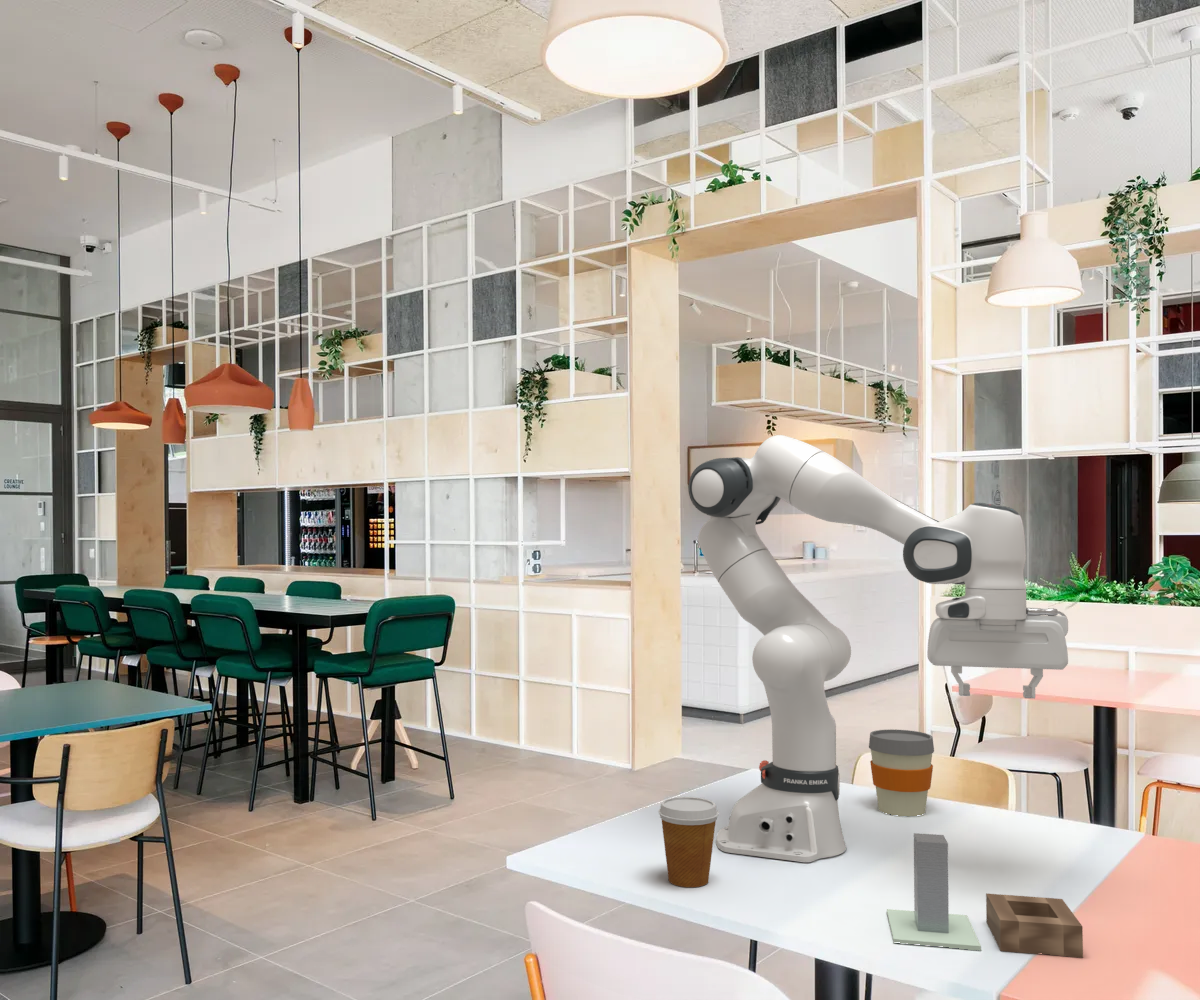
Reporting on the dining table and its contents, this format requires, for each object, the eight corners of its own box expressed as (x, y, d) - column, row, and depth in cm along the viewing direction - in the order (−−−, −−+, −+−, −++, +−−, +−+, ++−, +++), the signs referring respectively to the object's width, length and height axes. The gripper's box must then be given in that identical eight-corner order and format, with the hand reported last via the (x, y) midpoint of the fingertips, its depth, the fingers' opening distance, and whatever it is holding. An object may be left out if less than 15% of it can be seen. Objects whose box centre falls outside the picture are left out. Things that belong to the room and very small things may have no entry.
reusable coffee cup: (944, 810, 197) (944, 734, 197) (918, 823, 187) (918, 744, 188) (885, 799, 205) (885, 726, 206) (858, 811, 196) (857, 735, 196)
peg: (917, 931, 133) (916, 841, 134) (914, 920, 137) (913, 833, 138) (948, 933, 133) (947, 843, 133) (944, 922, 136) (943, 834, 137)
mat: (893, 943, 131) (893, 939, 131) (886, 913, 141) (886, 909, 141) (981, 950, 128) (981, 946, 128) (967, 919, 139) (967, 915, 139)
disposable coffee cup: (654, 871, 159) (654, 796, 159) (712, 870, 160) (712, 795, 160) (662, 892, 149) (663, 812, 150) (724, 890, 150) (724, 811, 151)
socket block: (1000, 951, 128) (1000, 919, 129) (986, 922, 138) (986, 893, 138) (1082, 957, 126) (1082, 926, 127) (1062, 928, 136) (1062, 898, 136)
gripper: (1062, 607, 153) (1064, 696, 153) (925, 604, 158) (926, 691, 157) (1072, 609, 147) (1074, 702, 147) (929, 607, 152) (930, 697, 151)
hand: (996, 696), depth 152 cm, fingers open, 8 cm apart
